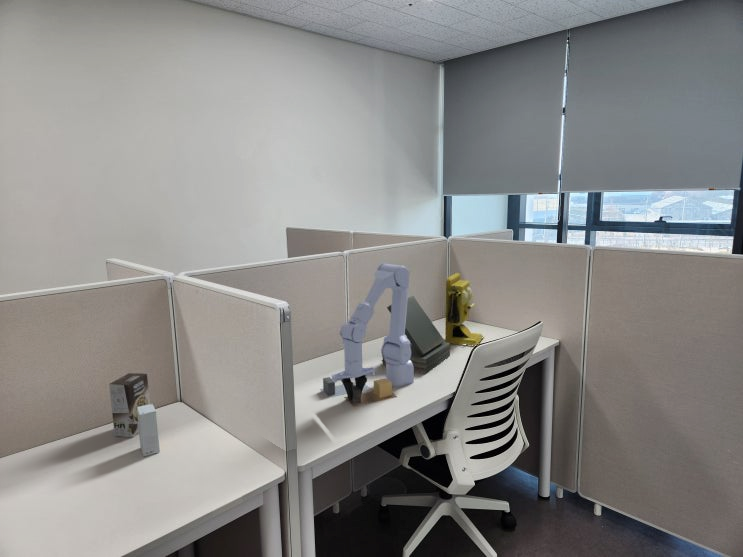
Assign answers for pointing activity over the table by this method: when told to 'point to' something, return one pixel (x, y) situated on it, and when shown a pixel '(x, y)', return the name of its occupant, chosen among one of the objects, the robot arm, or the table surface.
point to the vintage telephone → (458, 312)
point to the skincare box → (148, 429)
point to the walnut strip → (364, 397)
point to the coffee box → (128, 402)
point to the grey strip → (335, 388)
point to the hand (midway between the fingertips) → (354, 398)
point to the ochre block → (382, 388)
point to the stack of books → (423, 339)
